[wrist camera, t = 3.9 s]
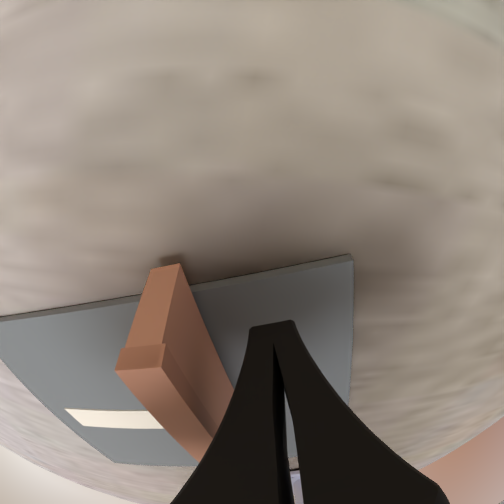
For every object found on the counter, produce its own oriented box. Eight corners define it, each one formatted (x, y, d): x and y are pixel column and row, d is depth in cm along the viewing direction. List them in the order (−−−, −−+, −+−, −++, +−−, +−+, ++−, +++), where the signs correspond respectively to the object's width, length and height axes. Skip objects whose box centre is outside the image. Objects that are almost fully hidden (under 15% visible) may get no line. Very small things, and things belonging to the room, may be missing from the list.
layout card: (342, 442, 19) (343, 447, 19) (115, 458, 20) (114, 463, 20) (349, 254, 11) (354, 261, 10) (-23, 320, 12) (-27, 326, 11)
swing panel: (243, 405, 14) (247, 479, 11) (219, 407, 14) (219, 480, 11) (183, 262, 10) (161, 367, 6) (148, 269, 10) (114, 370, 6)
